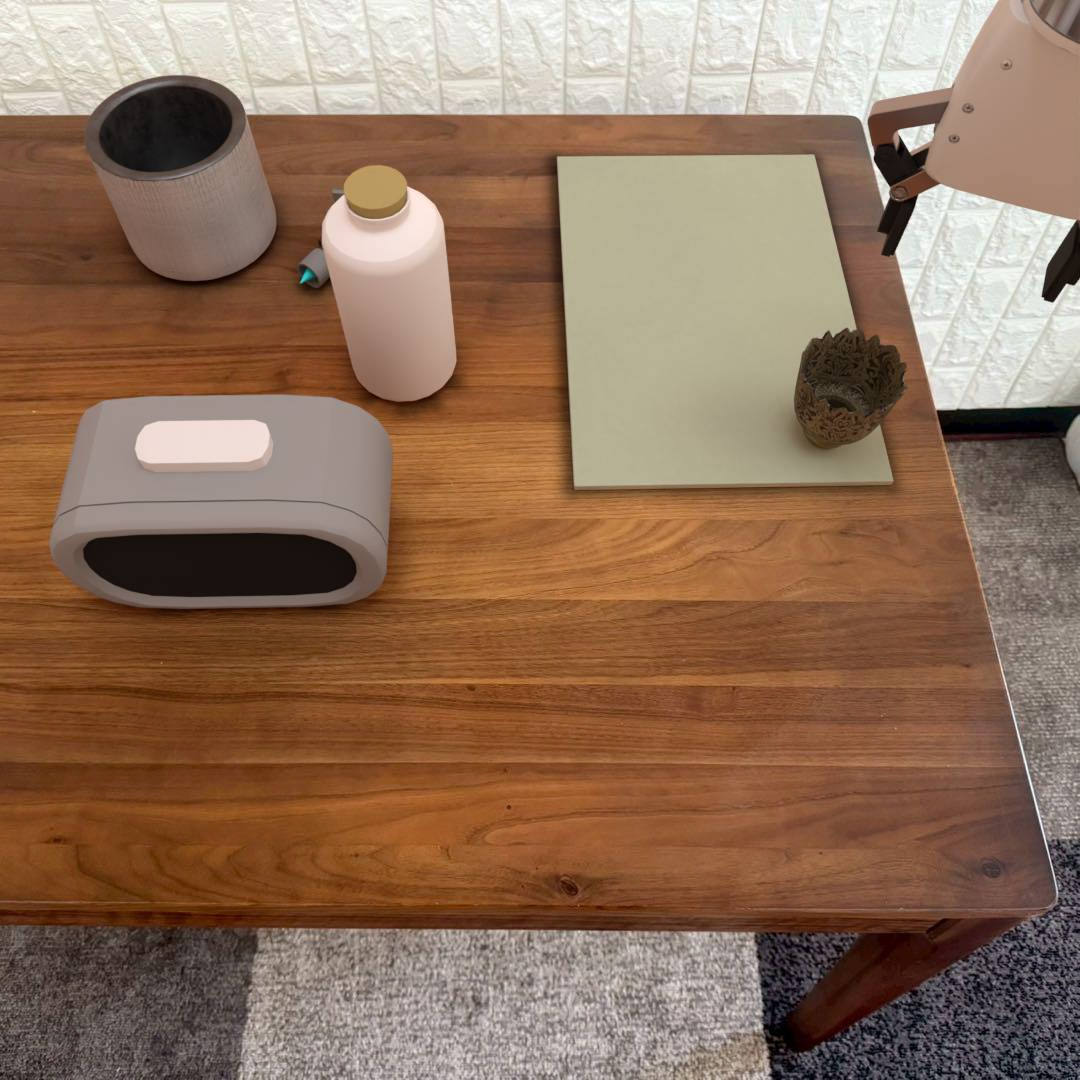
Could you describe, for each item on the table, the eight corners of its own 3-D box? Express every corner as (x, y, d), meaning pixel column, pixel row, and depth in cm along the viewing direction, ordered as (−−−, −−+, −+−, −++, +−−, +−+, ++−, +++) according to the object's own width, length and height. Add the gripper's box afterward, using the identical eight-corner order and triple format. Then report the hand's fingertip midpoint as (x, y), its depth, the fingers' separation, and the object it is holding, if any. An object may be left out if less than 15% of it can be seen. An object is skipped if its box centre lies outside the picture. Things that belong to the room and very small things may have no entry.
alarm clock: (98, 618, 66) (6, 520, 54) (123, 500, 71) (44, 387, 59) (397, 612, 67) (369, 515, 55) (403, 496, 71) (379, 383, 60)
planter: (112, 218, 85) (58, 107, 75) (243, 166, 88) (207, 54, 78) (167, 309, 80) (117, 203, 70) (303, 250, 83) (274, 141, 73)
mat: (891, 485, 72) (894, 481, 72) (573, 490, 72) (574, 486, 71) (812, 159, 90) (814, 154, 89) (556, 161, 89) (556, 156, 89)
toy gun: (287, 286, 81) (274, 242, 77) (374, 203, 86) (366, 158, 82) (378, 335, 79) (370, 293, 75) (462, 246, 84) (459, 202, 79)
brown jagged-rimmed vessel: (779, 388, 76) (805, 318, 69) (873, 402, 75) (909, 334, 68) (772, 465, 72) (799, 400, 65) (871, 481, 72) (908, 418, 65)
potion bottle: (431, 421, 75) (405, 248, 59) (335, 388, 76) (286, 211, 60) (474, 344, 78) (461, 162, 63) (382, 315, 80) (347, 129, 64)
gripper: (1323, -17, 44) (1120, 260, 59) (944, -98, 47) (843, 186, 62) (1325, 81, 40) (1108, 349, 55) (916, -13, 43) (815, 265, 58)
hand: (968, 262), depth 58 cm, fingers open, 9 cm apart
